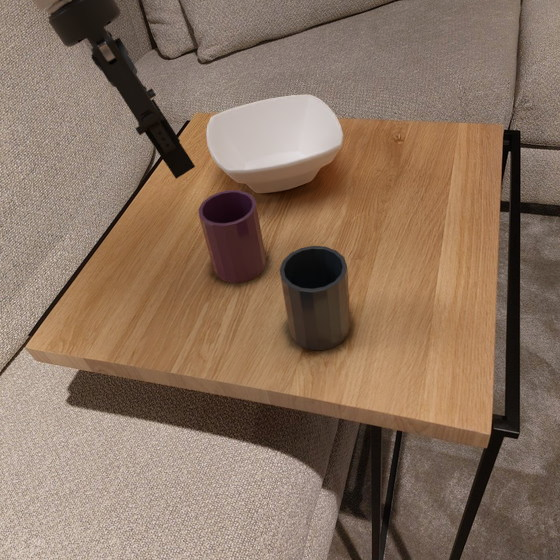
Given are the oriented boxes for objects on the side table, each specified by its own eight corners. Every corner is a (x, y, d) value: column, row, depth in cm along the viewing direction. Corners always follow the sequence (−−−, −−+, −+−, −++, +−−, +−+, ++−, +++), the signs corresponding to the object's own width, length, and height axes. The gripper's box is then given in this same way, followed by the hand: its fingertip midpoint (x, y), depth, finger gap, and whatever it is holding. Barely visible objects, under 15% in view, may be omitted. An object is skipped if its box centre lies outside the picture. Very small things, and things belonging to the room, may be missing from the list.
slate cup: (328, 360, 68) (322, 300, 61) (277, 335, 72) (266, 276, 65) (361, 319, 72) (359, 258, 65) (311, 297, 76) (304, 238, 69)
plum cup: (243, 290, 78) (230, 232, 71) (203, 271, 82) (186, 214, 75) (276, 257, 82) (267, 199, 75) (236, 240, 86) (224, 184, 79)
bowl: (359, 196, 90) (357, 147, 84) (227, 227, 88) (216, 180, 82) (322, 132, 105) (318, 86, 99) (209, 157, 103) (198, 113, 97)
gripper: (103, -22, 54) (220, 167, 65) (100, -19, 76) (188, 123, 86) (35, 21, 54) (163, 203, 65) (51, 12, 76) (145, 150, 86)
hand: (178, 158), depth 76 cm, fingers open, 13 cm apart
